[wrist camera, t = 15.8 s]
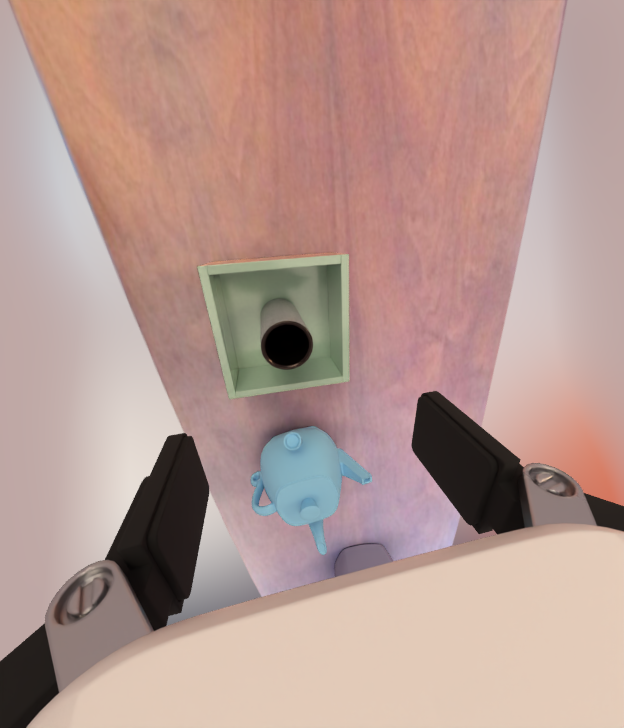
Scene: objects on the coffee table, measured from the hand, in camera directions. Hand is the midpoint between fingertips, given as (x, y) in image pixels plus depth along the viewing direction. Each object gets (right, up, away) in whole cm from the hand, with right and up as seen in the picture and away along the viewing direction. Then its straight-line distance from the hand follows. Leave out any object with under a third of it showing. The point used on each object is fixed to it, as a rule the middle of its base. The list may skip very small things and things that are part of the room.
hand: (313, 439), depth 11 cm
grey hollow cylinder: (-4, +9, +21) cm, 23 cm away
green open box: (-4, +9, +22) cm, 24 cm away
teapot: (-2, -10, +31) cm, 33 cm away
